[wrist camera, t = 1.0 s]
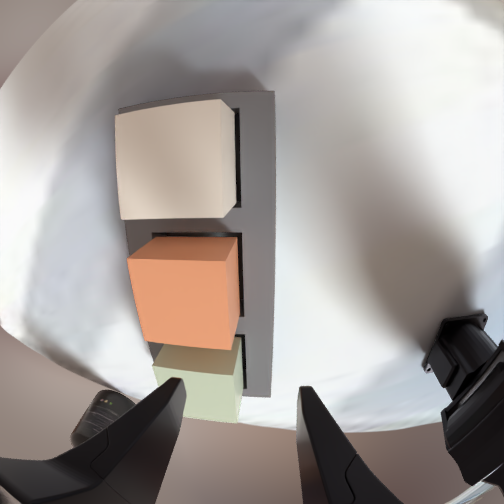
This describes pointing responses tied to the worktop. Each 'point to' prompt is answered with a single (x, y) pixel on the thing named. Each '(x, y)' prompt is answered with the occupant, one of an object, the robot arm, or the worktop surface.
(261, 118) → the console
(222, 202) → the cream button
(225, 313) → the terracotta button
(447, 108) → the worktop surface
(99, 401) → the supplement bottle
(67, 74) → the worktop surface
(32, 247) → the worktop surface
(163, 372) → the sage button
